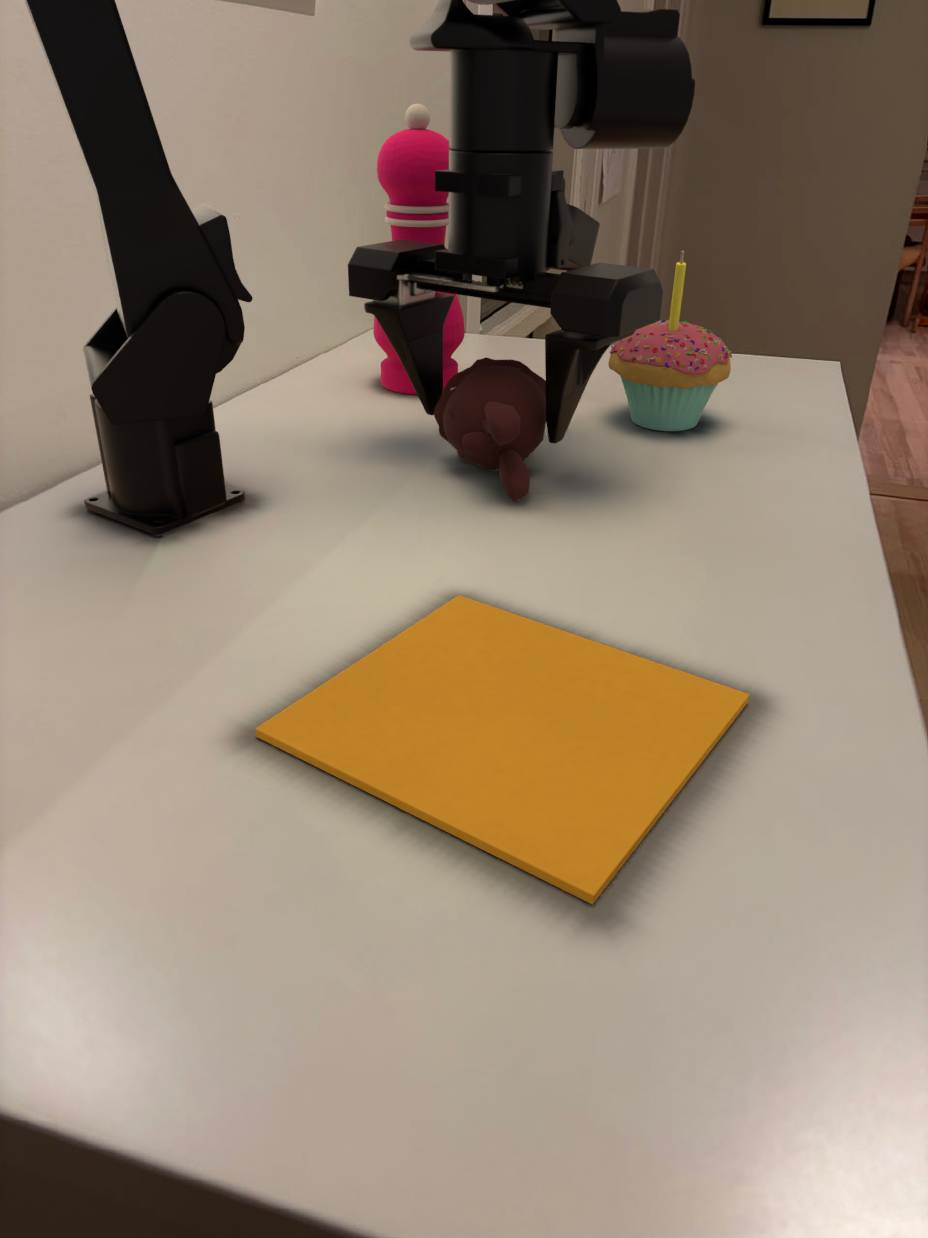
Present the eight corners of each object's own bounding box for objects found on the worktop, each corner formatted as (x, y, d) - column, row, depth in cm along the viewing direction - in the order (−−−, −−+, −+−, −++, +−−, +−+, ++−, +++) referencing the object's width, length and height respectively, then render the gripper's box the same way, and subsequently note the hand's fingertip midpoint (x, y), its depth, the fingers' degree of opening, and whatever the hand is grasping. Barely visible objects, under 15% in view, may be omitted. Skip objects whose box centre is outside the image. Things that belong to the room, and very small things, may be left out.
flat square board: (255, 737, 34) (254, 728, 34) (458, 601, 44) (458, 594, 44) (592, 905, 28) (593, 895, 27) (748, 702, 37) (750, 694, 37)
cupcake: (723, 444, 64) (753, 258, 58) (599, 434, 65) (615, 252, 59) (719, 408, 71) (745, 240, 65) (607, 400, 73) (622, 235, 67)
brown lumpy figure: (416, 336, 63) (431, 424, 51) (523, 308, 62) (564, 390, 50) (441, 430, 67) (460, 532, 55) (542, 404, 66) (584, 501, 54)
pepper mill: (362, 392, 74) (351, 102, 64) (390, 369, 80) (384, 101, 70) (451, 400, 72) (454, 104, 62) (472, 376, 78) (478, 104, 69)
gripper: (719, 152, 52) (682, 423, 60) (448, 139, 62) (447, 376, 69) (630, 161, 44) (601, 473, 52) (335, 144, 54) (347, 411, 61)
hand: (492, 427), depth 59 cm, fingers open, 9 cm apart
